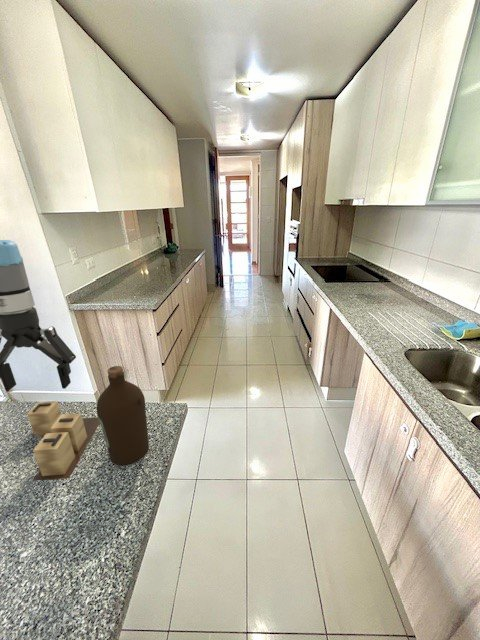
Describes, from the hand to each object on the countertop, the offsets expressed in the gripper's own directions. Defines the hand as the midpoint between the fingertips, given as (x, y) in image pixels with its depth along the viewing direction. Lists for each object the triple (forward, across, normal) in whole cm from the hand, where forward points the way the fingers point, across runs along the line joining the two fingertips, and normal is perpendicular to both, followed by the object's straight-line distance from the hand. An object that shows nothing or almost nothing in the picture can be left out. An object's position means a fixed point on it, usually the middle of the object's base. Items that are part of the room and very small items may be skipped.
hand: (39, 386), depth 68 cm
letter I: (+15, +8, -5) cm, 18 cm away
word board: (+16, +8, -5) cm, 18 cm away
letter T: (+15, +8, -12) cm, 21 cm away
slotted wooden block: (+16, -2, +1) cm, 16 cm away
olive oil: (+16, +23, -8) cm, 29 cm away
